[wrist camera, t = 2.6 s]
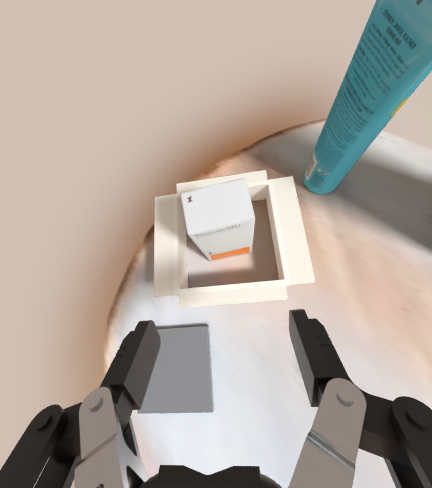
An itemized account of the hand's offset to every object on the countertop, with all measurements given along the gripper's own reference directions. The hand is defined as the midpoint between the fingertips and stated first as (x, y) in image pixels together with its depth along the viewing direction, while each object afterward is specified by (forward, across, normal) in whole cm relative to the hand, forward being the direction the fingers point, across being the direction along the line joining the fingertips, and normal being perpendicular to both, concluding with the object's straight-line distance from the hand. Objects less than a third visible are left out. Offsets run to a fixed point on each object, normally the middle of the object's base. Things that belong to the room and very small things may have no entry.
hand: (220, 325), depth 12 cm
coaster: (+6, +8, +14) cm, 18 cm away
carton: (+17, 0, +4) cm, 18 cm away
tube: (+23, -14, -2) cm, 27 cm away
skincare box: (+17, 0, +4) cm, 18 cm away
